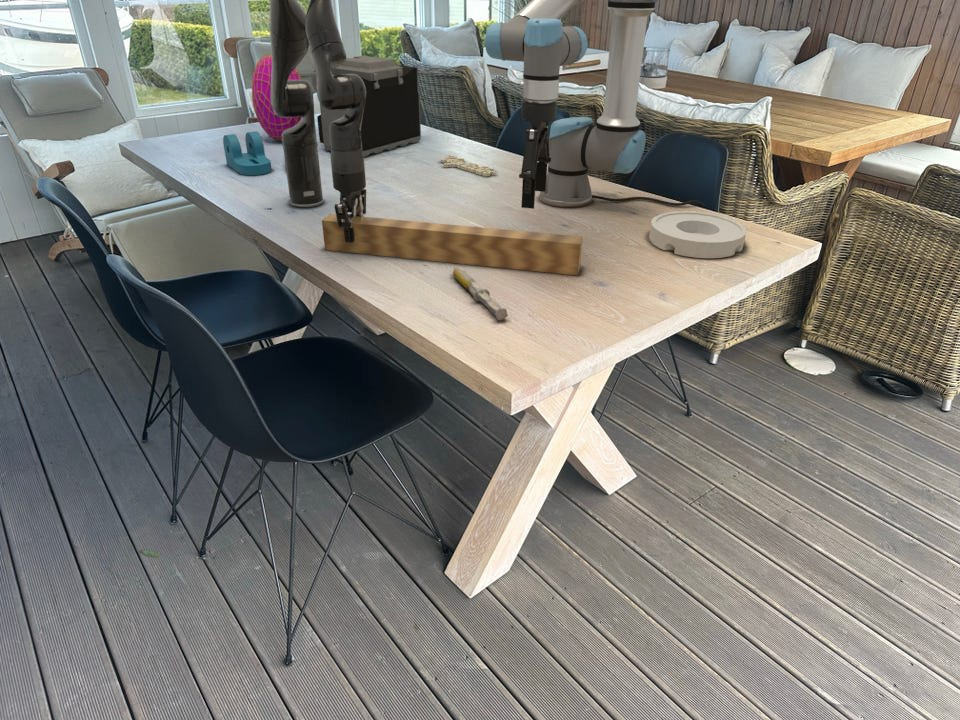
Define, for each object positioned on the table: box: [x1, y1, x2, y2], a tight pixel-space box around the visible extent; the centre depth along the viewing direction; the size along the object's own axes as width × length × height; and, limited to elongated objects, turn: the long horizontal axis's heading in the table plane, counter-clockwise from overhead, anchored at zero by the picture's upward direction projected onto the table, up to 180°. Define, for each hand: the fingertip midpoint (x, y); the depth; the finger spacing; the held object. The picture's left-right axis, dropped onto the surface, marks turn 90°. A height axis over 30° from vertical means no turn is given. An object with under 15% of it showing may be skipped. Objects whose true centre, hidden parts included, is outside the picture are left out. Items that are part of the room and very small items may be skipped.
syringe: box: [452, 266, 509, 321], centre depth 145 cm, size 25×4×3 cm, turn 21°
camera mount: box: [222, 131, 272, 176], centre depth 226 cm, size 18×10×10 cm, turn 35°
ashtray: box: [648, 210, 747, 259], centre depth 174 cm, size 23×23×4 cm
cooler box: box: [310, 55, 422, 158], centre depth 250 cm, size 37×22×30 cm, turn 144°
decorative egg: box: [251, 54, 302, 142], centre depth 257 cm, size 19×19×30 cm
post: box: [321, 213, 584, 276], centre depth 161 cm, size 62×5×8 cm, turn 77°
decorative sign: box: [440, 154, 496, 177], centre depth 233 cm, size 26×1×10 cm
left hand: (354, 237), depth 166 cm, fingers closed on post, 5 cm apart
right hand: (533, 199), depth 155 cm, fingers open, 13 cm apart
